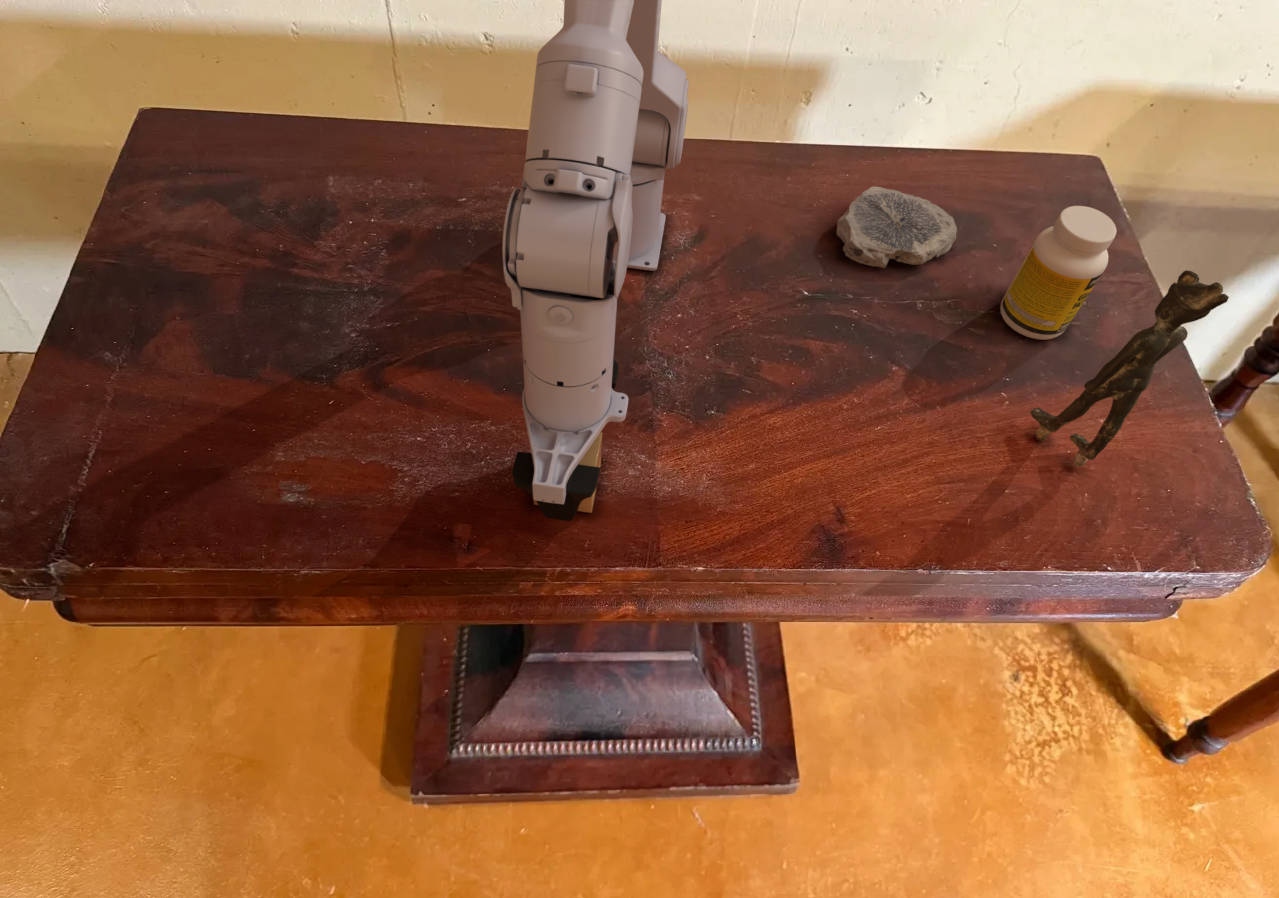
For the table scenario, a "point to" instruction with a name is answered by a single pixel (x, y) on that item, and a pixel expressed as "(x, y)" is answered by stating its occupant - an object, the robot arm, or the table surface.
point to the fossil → (894, 228)
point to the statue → (1134, 364)
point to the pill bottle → (1058, 273)
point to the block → (590, 459)
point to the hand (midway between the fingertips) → (567, 474)
